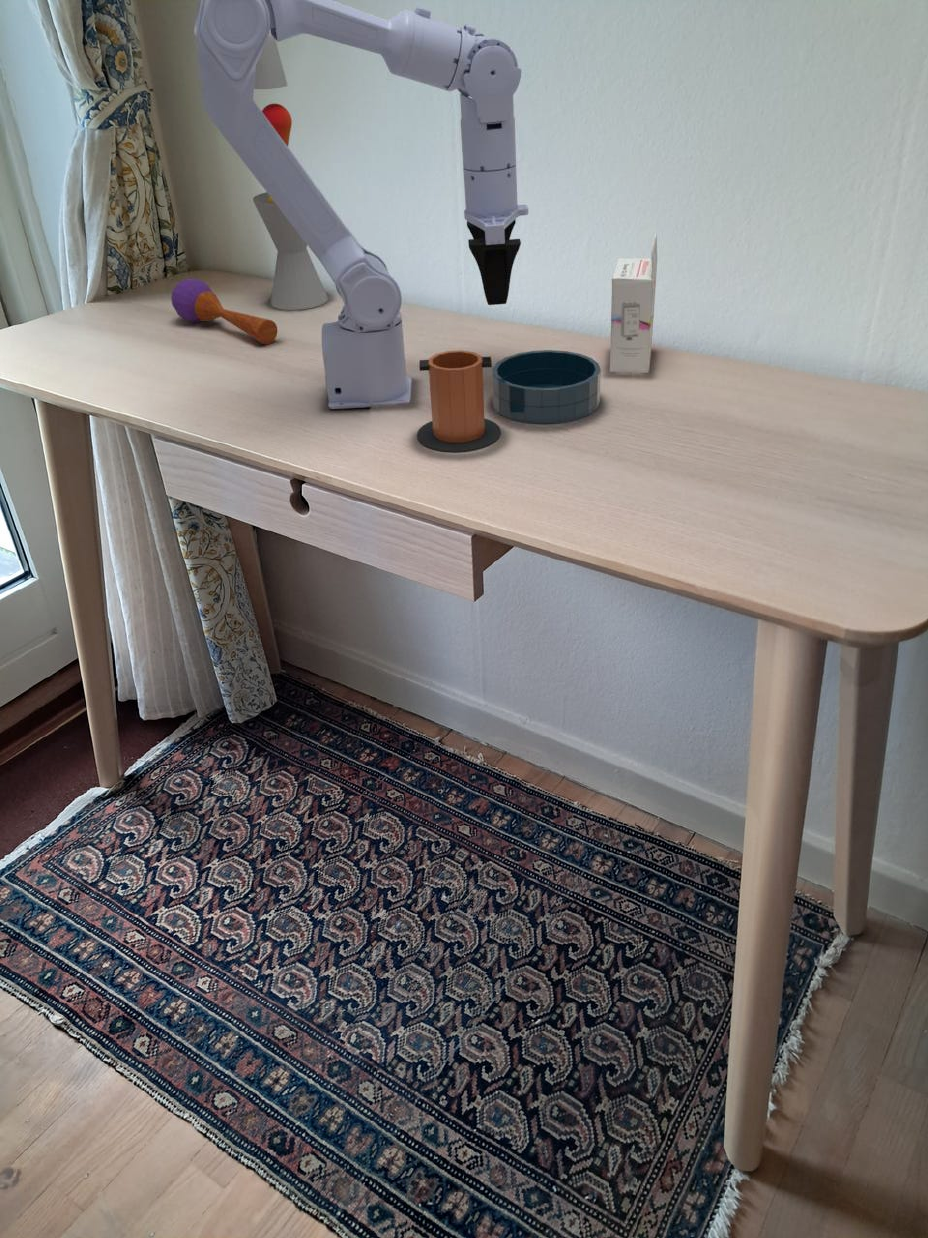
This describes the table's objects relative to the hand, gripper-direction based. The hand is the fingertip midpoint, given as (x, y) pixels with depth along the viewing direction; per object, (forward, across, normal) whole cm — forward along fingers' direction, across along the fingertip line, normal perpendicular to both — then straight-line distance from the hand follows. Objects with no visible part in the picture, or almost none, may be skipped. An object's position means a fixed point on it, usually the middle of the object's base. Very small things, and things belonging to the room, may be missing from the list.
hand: (495, 293), depth 113 cm
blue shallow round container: (+10, -9, -5) cm, 15 cm away
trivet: (+10, -17, +5) cm, 20 cm away
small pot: (+9, -17, +5) cm, 20 cm away
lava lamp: (+10, +36, +29) cm, 47 cm away
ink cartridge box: (+11, +3, -16) cm, 20 cm away
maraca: (+10, +24, +38) cm, 46 cm away
